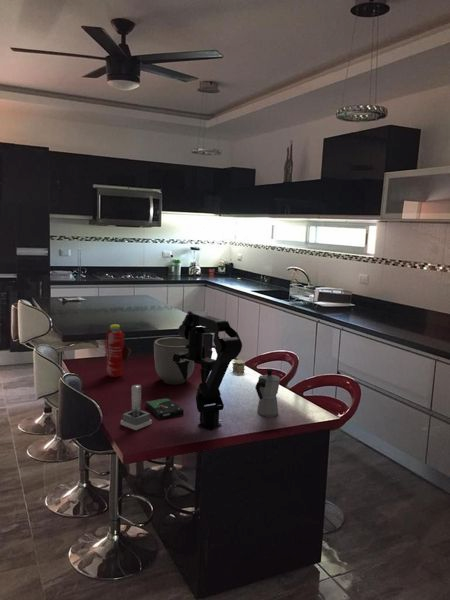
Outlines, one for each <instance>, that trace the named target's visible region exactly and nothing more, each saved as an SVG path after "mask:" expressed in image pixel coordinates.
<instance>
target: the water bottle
mask: <svg viewBox="0 0 450 600" xmlns="http://www.w3.org/2000/svg"><path fill="white" fill-rule="evenodd" d="M105 337H106V338H105V341H104V352H105V354H104V358H106V374H107V375H108V377H110V378H119V377H120V376H122V374H123V368H124V367H123V363H124V362H128V359H129V357H130V354H131V352H132V349H131V348H129V347H128V346H126V344H125V333H124V332H123V331H122V330H121V329H120V324H116V323H115V324H113V323H112V324H110V325H109V330H108V331H107V332H106V333H105Z"/></svg>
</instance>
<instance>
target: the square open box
mask: <svg viewBox="0 0 450 600" xmlns="http://www.w3.org/2000/svg"><path fill="white" fill-rule="evenodd" d="M152 423H153V420H152V419H151V413H150V412H147V411H144V410H141V416H139V417H134V416H132V410H130V411H127V412H125V413H122V419H121V420H120V425H121V426H123V427H126V428H129V429H132V430H134V431H138V430H141V429H142V428H146V427H147V426H150V425H152Z"/></svg>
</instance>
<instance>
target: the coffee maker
mask: <svg viewBox="0 0 450 600" xmlns="http://www.w3.org/2000/svg"><path fill="white" fill-rule="evenodd" d="M280 381H281V377H279V375H273V369H272V368H267V369H266V374H263V375H259V377H258V380H257V382H256V384H255V390H256V394H257V396H258V398H259V399H258V405H257V410H256V412H257V414H258V415H259V416H263V417H275V416H277V415H279V408H278V406H279V405H278V399H277V398H278V397H277V395H278V392H279V387H280Z"/></svg>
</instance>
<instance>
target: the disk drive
mask: <svg viewBox="0 0 450 600" xmlns="http://www.w3.org/2000/svg"><path fill="white" fill-rule="evenodd" d="M145 407H146V408H147V409H148V410H149V411H150V412H151V413H152V412H153V413H154V414H153V413H152V414H153V415H155V416H156V417H157V418H158V419H159V420H161V418H163V419H168V417H169V418H173V417H174V416H175V417H179V416H180V417H181V416H184V408H182V407H181V406H180V405H178V404H177V403H176V402H174V401H173V400H172V399H171V398H169V397H166V398H164V397H163V398H158V399H154V400H147V401H146V402H145Z"/></svg>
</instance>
